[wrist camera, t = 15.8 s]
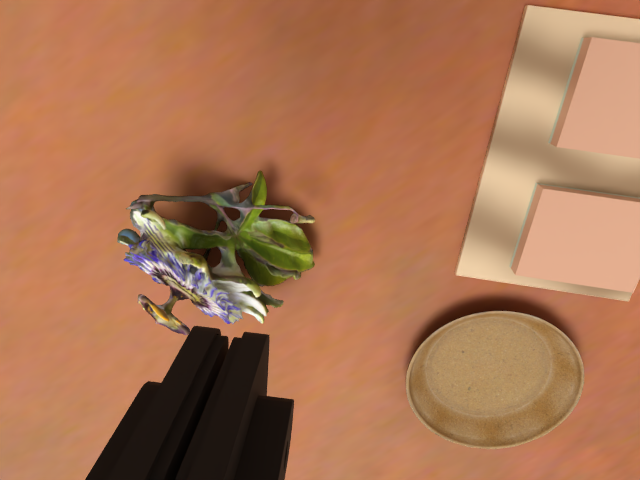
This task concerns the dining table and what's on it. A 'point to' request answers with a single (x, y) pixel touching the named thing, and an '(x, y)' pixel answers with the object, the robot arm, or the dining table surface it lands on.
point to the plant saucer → (495, 379)
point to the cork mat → (539, 145)
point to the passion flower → (226, 278)
